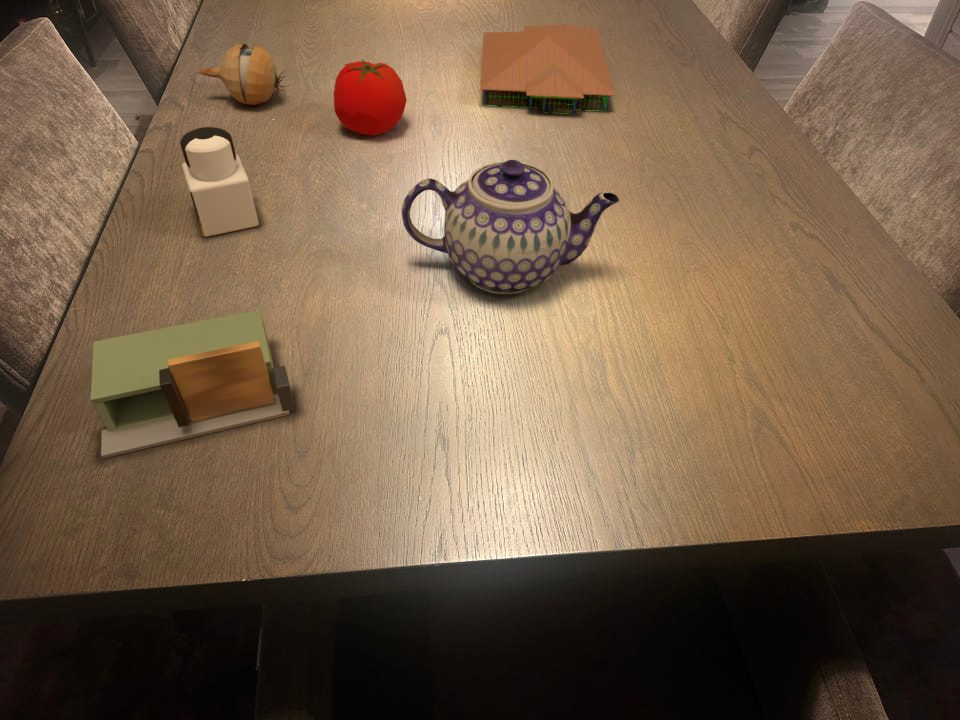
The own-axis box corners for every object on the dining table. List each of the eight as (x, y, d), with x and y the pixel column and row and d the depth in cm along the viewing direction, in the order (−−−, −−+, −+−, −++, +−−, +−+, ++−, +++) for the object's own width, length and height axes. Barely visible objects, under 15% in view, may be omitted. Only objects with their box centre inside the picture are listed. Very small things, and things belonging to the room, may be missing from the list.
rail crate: (102, 458, 63) (81, 424, 59) (105, 378, 70) (86, 342, 66) (296, 413, 67) (287, 378, 64) (280, 341, 74) (271, 307, 71)
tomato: (322, 122, 110) (313, 58, 103) (381, 105, 116) (377, 43, 108) (360, 152, 104) (354, 86, 97) (421, 132, 109) (420, 69, 102)
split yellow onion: (288, 64, 106) (189, 35, 103) (281, 122, 112) (187, 96, 109) (299, 51, 114) (208, 24, 111) (292, 105, 119) (205, 81, 116)
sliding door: (181, 434, 64) (156, 377, 58) (180, 419, 65) (155, 361, 60) (277, 412, 67) (262, 355, 61) (274, 397, 68) (259, 340, 62)
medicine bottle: (195, 210, 91) (169, 126, 83) (248, 199, 94) (229, 117, 85) (204, 238, 87) (178, 153, 78) (259, 226, 89) (240, 142, 81)
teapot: (395, 301, 80) (387, 190, 69) (413, 227, 91) (409, 121, 80) (607, 317, 79) (632, 208, 68) (600, 241, 90) (621, 136, 79)
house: (479, 114, 114) (481, 66, 109) (483, 41, 138) (484, -2, 132) (613, 121, 115) (622, 73, 109) (594, 46, 138) (601, 3, 132)
